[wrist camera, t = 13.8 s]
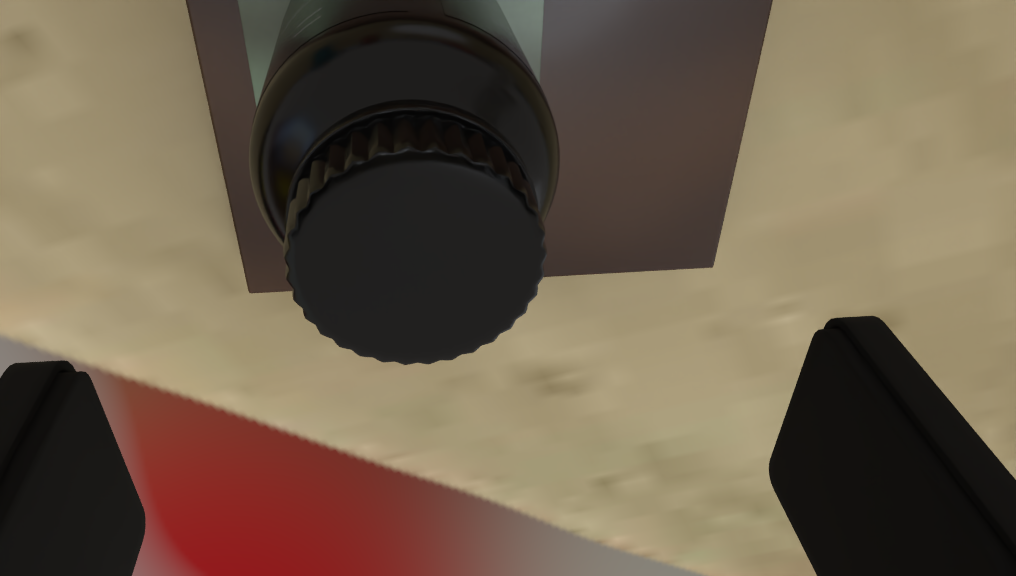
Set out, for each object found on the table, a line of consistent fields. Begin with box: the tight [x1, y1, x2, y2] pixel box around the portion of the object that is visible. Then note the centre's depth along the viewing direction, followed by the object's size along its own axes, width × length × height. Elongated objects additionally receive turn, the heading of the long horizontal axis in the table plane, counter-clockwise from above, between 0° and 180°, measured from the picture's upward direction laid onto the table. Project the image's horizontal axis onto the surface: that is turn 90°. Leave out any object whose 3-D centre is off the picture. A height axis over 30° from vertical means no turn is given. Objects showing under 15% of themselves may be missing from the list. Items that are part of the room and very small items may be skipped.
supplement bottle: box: [249, 0, 560, 365], centre depth 18 cm, size 7×7×12 cm
